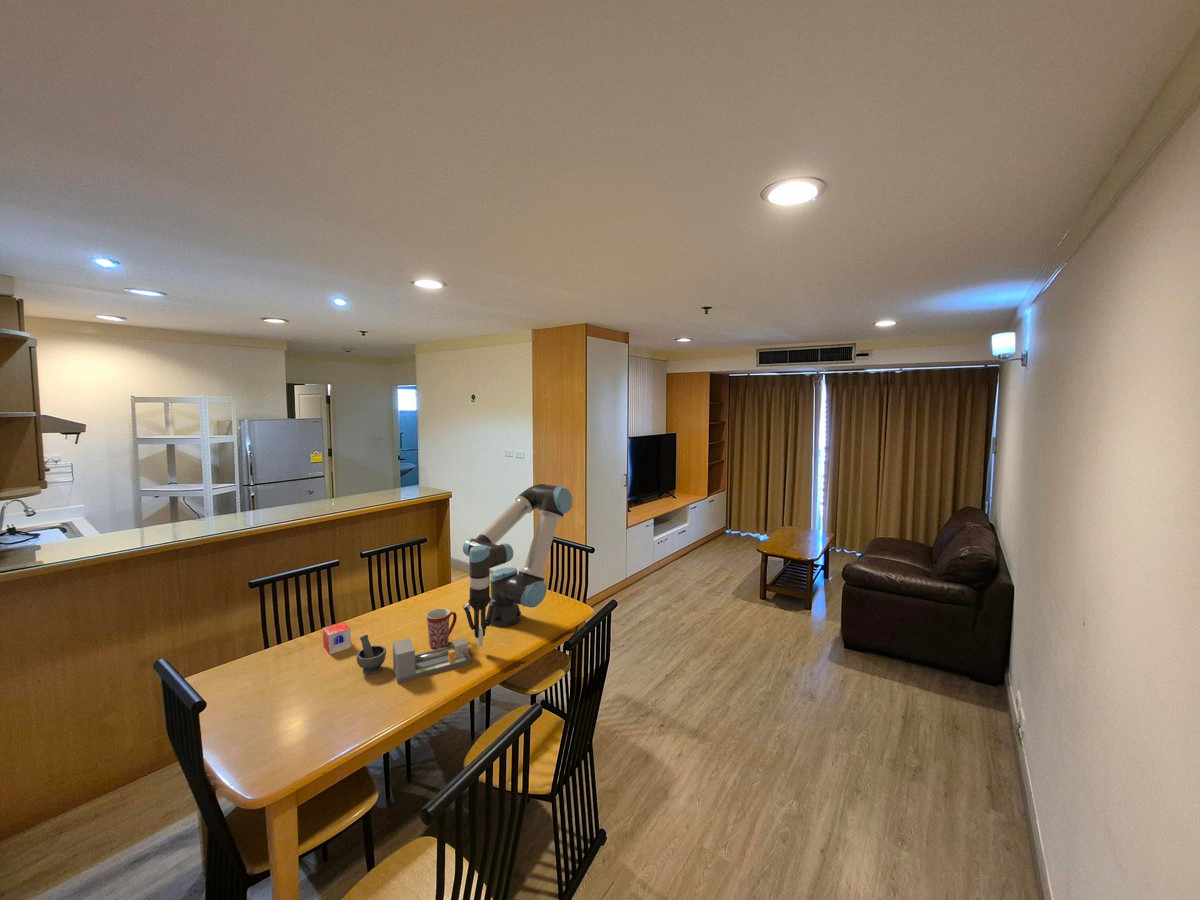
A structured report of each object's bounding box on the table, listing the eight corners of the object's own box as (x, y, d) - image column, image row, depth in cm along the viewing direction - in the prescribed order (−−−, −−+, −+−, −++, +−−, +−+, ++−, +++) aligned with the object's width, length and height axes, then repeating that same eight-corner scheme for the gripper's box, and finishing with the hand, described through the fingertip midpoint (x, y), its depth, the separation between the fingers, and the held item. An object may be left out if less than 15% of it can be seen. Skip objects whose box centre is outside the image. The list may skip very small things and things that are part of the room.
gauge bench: (464, 650, 186) (463, 625, 185) (471, 662, 178) (471, 636, 177) (393, 669, 173) (392, 642, 172) (397, 683, 164) (396, 654, 163)
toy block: (345, 640, 194) (344, 621, 193) (351, 647, 188) (350, 628, 187) (323, 646, 188) (322, 628, 187) (329, 654, 182) (328, 635, 182)
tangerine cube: (453, 659, 176) (453, 649, 176) (455, 661, 175) (454, 651, 174) (448, 660, 175) (448, 650, 175) (449, 663, 174) (449, 653, 173)
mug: (434, 653, 184) (433, 620, 183) (422, 645, 190) (421, 613, 189) (462, 641, 194) (462, 610, 192) (450, 634, 199) (450, 603, 198)
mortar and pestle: (391, 668, 173) (390, 637, 172) (366, 680, 166) (365, 648, 164) (375, 658, 180) (374, 628, 179) (350, 669, 172) (349, 638, 171)
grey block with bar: (464, 649, 184) (464, 637, 183) (469, 658, 178) (469, 645, 177) (411, 663, 174) (411, 650, 173) (415, 673, 168) (414, 659, 167)
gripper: (492, 580, 188) (492, 636, 191) (460, 585, 182) (460, 644, 184) (499, 586, 182) (499, 644, 184) (465, 592, 175) (465, 653, 178)
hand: (479, 644), depth 184 cm, fingers closed
